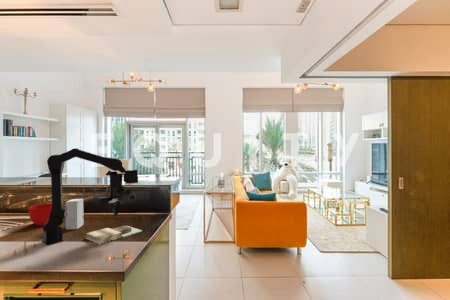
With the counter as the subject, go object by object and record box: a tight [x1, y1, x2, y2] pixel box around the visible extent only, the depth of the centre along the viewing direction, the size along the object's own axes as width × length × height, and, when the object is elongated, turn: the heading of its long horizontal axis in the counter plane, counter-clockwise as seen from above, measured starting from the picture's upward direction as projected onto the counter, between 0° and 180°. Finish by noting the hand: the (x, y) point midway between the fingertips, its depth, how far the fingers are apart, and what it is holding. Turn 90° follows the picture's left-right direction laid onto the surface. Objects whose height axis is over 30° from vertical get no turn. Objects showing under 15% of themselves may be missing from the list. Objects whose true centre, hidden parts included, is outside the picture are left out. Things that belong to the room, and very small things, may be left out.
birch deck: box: [85, 227, 123, 245], centre depth 122 cm, size 11×12×2 cm
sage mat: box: [122, 225, 143, 238], centre depth 132 cm, size 11×13×1 cm
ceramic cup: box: [28, 203, 52, 227], centre depth 145 cm, size 13×17×10 cm
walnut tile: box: [112, 225, 132, 234], centre depth 130 cm, size 7×6×2 cm
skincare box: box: [65, 198, 85, 230], centre depth 138 cm, size 8×6×15 cm
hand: (115, 215), depth 127 cm, fingers closed
